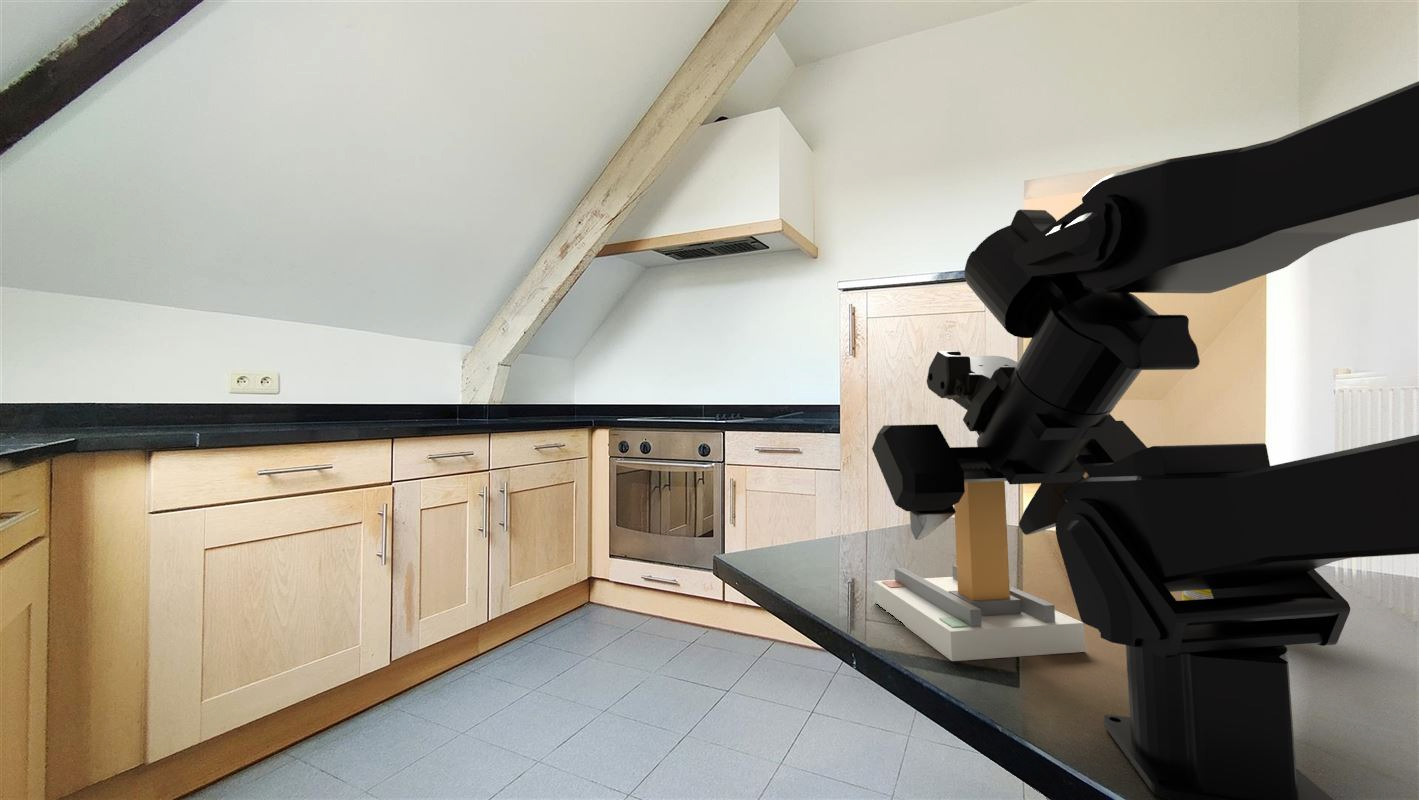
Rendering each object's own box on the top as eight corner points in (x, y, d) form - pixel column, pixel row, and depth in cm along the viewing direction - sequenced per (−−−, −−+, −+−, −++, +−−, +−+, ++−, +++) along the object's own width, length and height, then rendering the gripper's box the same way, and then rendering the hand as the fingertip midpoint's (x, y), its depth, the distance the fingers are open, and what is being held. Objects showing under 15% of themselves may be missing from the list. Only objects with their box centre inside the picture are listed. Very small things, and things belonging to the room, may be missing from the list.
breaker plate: (1085, 651, 40) (1082, 605, 40) (951, 661, 38) (949, 613, 39) (977, 597, 52) (975, 562, 53) (874, 603, 51) (873, 567, 51)
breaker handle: (1021, 613, 42) (1013, 451, 42) (970, 616, 41) (963, 453, 42) (996, 601, 45) (989, 450, 45) (948, 603, 44) (942, 451, 45)
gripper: (1120, 311, 41) (1026, 454, 52) (878, 310, 39) (831, 460, 50) (1239, 415, 33) (1099, 560, 44) (941, 420, 31) (869, 572, 41)
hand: (969, 532), depth 45 cm, fingers open, 9 cm apart
